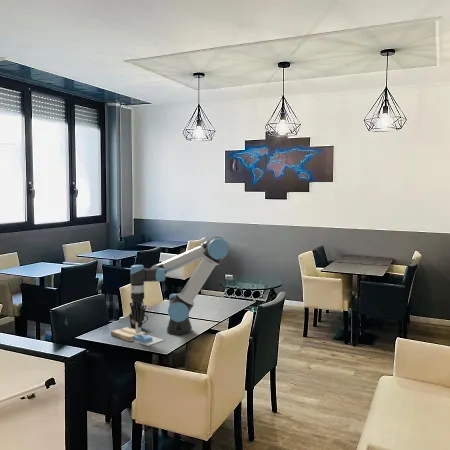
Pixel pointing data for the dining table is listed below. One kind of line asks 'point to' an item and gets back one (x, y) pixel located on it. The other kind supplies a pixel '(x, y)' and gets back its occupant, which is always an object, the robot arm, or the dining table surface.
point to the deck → (126, 333)
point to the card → (143, 338)
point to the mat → (154, 341)
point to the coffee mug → (134, 321)
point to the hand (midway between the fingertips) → (138, 332)
